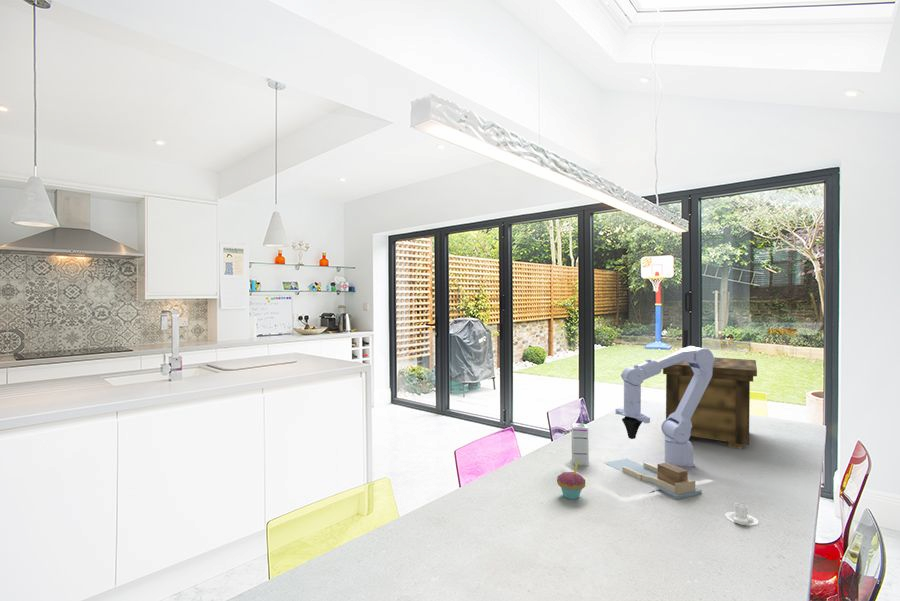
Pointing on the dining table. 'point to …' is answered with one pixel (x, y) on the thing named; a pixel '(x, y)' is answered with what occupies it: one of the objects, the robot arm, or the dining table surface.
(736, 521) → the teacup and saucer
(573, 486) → the cupcake
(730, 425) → the crate
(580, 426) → the syrup box
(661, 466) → the brown prism
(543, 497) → the dining table surface
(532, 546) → the dining table surface
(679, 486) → the slide board
